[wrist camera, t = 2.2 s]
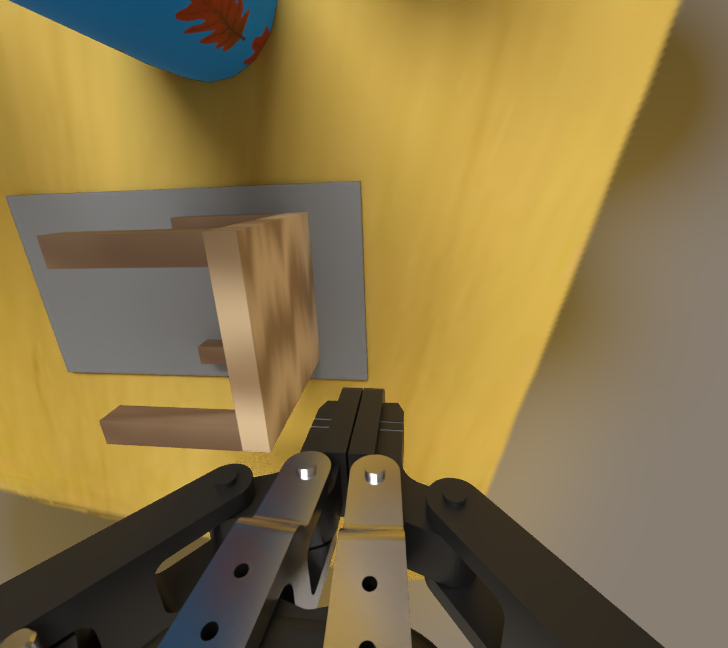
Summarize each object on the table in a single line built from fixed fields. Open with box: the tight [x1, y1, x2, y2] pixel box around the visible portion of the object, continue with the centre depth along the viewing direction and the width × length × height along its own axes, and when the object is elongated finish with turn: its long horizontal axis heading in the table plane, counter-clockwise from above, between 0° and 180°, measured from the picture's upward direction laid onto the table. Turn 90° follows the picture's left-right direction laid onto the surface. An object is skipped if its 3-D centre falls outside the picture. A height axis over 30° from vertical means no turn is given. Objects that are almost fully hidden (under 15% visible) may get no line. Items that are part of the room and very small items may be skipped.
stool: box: [36, 212, 320, 453], centre depth 24 cm, size 12×10×12 cm
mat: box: [5, 181, 368, 380], centre depth 31 cm, size 16×29×1 cm, turn 92°
